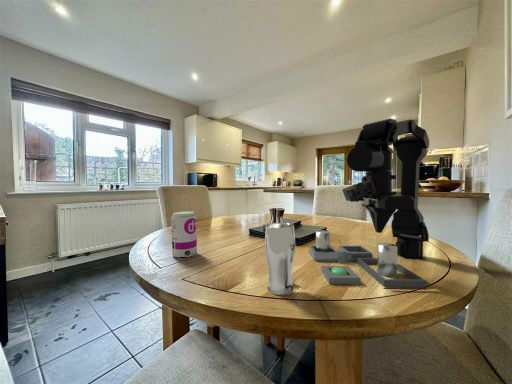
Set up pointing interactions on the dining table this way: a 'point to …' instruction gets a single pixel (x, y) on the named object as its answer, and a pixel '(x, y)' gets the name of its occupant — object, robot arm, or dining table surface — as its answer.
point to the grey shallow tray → (340, 254)
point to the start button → (339, 271)
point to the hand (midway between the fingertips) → (378, 232)
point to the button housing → (340, 276)
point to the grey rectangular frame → (412, 282)
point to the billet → (387, 259)
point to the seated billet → (322, 241)
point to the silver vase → (280, 257)
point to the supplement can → (184, 234)
